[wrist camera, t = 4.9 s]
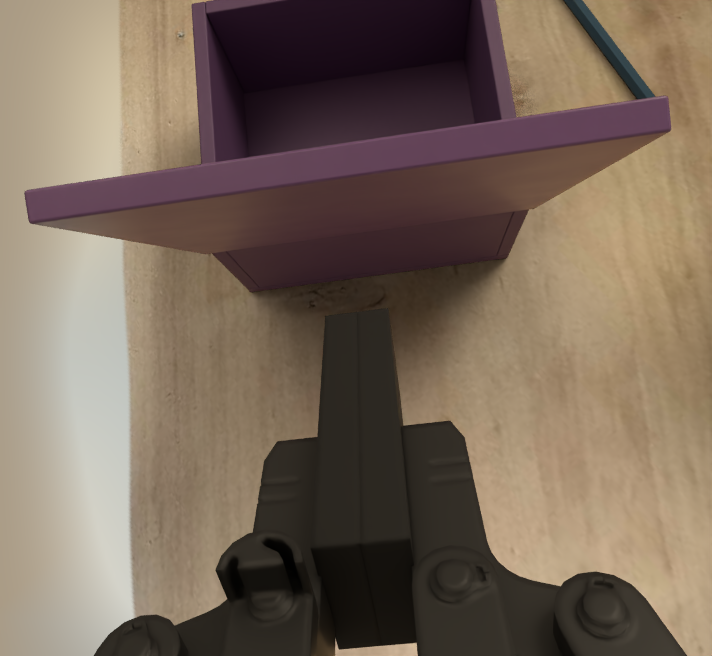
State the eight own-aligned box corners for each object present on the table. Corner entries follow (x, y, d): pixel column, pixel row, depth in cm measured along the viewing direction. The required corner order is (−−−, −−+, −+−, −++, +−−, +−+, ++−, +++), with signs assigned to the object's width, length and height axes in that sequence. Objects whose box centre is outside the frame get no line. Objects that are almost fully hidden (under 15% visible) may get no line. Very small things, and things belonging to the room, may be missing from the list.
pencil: (652, 125, 41) (528, -41, 44) (665, 118, 41) (540, -48, 44) (657, 117, 40) (530, -51, 44) (670, 110, 40) (543, -58, 44)
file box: (235, 91, 44) (190, 3, 36) (473, 54, 43) (487, -47, 34) (250, 292, 41) (206, 248, 32) (507, 258, 40) (532, 203, 31)
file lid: (22, 189, 17) (27, 224, 17) (669, 93, 15) (673, 131, 15) (201, 236, 32) (204, 254, 32) (533, 190, 31) (535, 208, 31)
